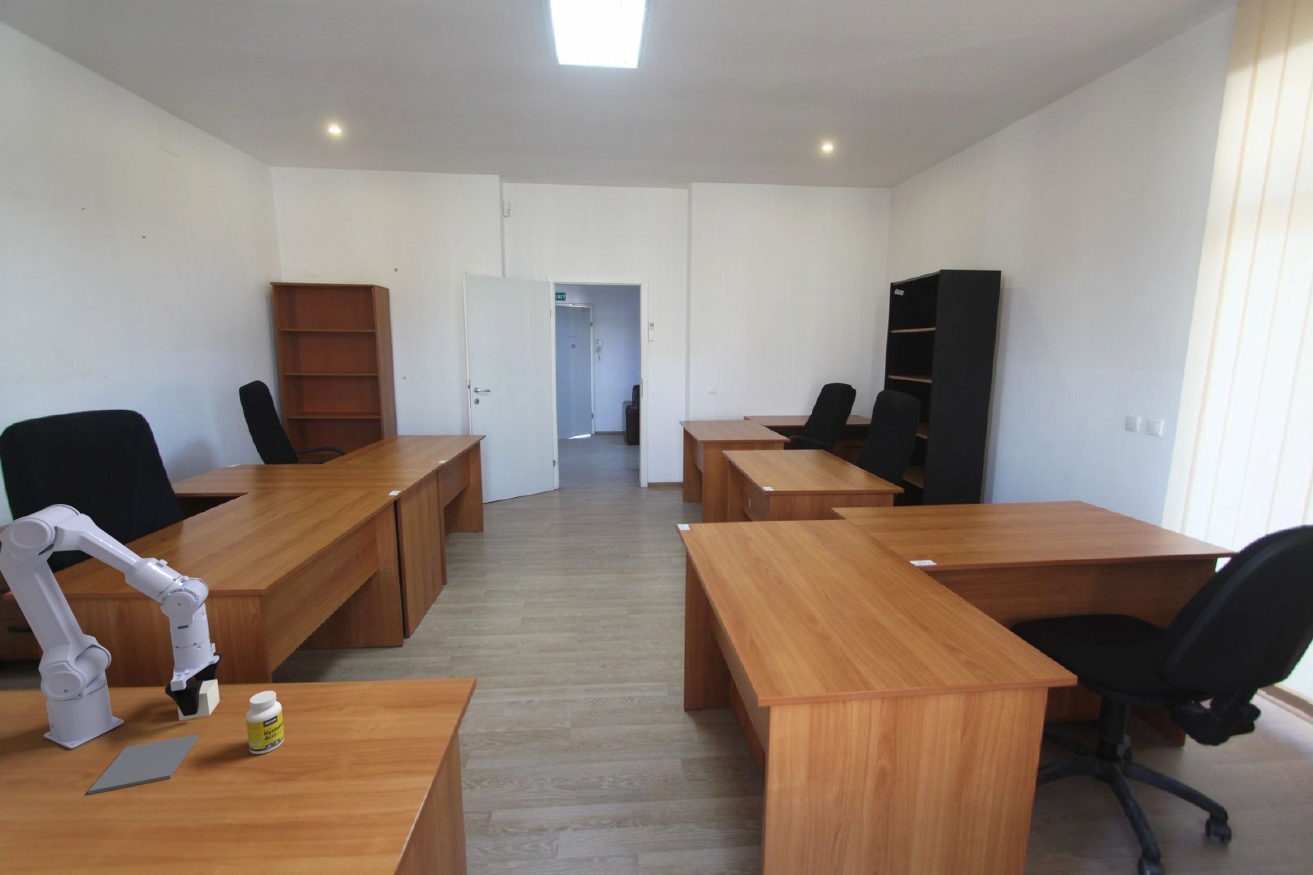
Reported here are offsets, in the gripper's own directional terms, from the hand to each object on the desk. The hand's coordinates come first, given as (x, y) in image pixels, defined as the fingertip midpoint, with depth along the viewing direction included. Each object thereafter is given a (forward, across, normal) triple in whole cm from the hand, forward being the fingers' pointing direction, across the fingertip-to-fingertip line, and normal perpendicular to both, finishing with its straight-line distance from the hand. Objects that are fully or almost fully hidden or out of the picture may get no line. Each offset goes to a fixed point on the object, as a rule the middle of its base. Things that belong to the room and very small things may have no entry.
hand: (199, 702), depth 113 cm
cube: (+2, 0, 0) cm, 2 cm away
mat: (+2, -15, +2) cm, 15 cm away
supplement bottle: (+2, -16, -16) cm, 23 cm away
